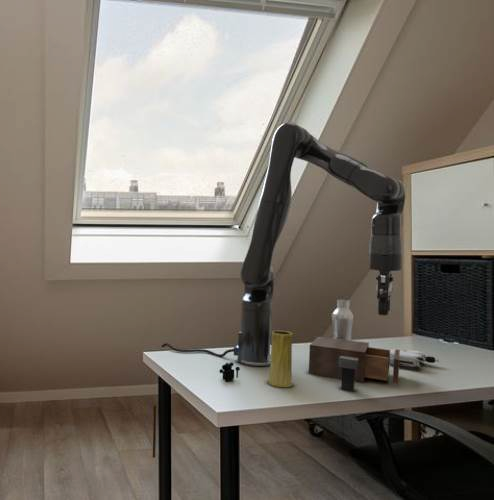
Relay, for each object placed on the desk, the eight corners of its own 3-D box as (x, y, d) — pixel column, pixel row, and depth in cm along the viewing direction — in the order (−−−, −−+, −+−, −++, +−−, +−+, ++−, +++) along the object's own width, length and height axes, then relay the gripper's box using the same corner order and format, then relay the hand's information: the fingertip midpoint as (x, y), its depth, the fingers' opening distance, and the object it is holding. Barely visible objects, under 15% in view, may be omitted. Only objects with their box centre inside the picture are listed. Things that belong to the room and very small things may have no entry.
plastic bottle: (355, 364, 153) (357, 302, 152) (332, 362, 154) (334, 301, 154) (349, 359, 159) (351, 299, 159) (328, 357, 161) (330, 298, 160)
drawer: (418, 375, 139) (419, 352, 138) (419, 387, 127) (420, 362, 127) (348, 365, 148) (349, 343, 148) (343, 375, 137) (344, 352, 136)
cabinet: (367, 370, 146) (368, 342, 146) (363, 382, 133) (365, 352, 133) (316, 362, 154) (317, 336, 153) (308, 373, 141) (309, 344, 141)
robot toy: (402, 360, 163) (376, 361, 155) (404, 347, 163) (377, 348, 155) (441, 369, 152) (414, 371, 145) (442, 355, 152) (415, 356, 145)
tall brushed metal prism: (338, 389, 127) (339, 357, 127) (339, 386, 129) (340, 355, 129) (356, 392, 125) (357, 360, 124) (357, 389, 127) (358, 358, 127)
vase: (280, 388, 126) (282, 335, 126) (263, 382, 131) (265, 331, 131) (296, 386, 129) (298, 333, 128) (279, 379, 134) (281, 329, 134)
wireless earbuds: (220, 383, 130) (221, 364, 130) (214, 380, 132) (215, 362, 132) (240, 379, 133) (241, 362, 133) (234, 377, 135) (235, 359, 135)
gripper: (371, 251, 134) (370, 308, 135) (367, 252, 122) (365, 315, 123) (402, 252, 130) (401, 311, 131) (400, 253, 118) (399, 318, 119)
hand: (384, 312), depth 127 cm, fingers open, 8 cm apart
